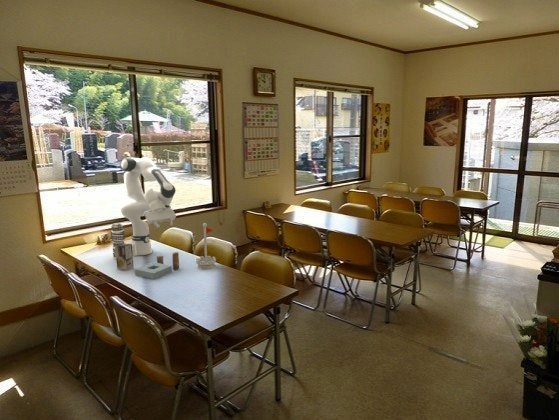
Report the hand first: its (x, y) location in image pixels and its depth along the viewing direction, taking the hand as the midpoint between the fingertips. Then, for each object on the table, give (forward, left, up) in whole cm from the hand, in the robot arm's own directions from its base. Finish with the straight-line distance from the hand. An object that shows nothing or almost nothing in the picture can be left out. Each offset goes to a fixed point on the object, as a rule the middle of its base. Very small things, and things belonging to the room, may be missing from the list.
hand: (165, 226), depth 270 cm
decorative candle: (-43, -4, -27) cm, 51 cm away
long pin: (+11, -4, -27) cm, 30 cm away
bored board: (+4, -17, -27) cm, 32 cm away
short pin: (-3, -4, -27) cm, 28 cm away
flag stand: (+25, +10, -28) cm, 39 cm away
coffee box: (-21, -18, -27) cm, 39 cm away
